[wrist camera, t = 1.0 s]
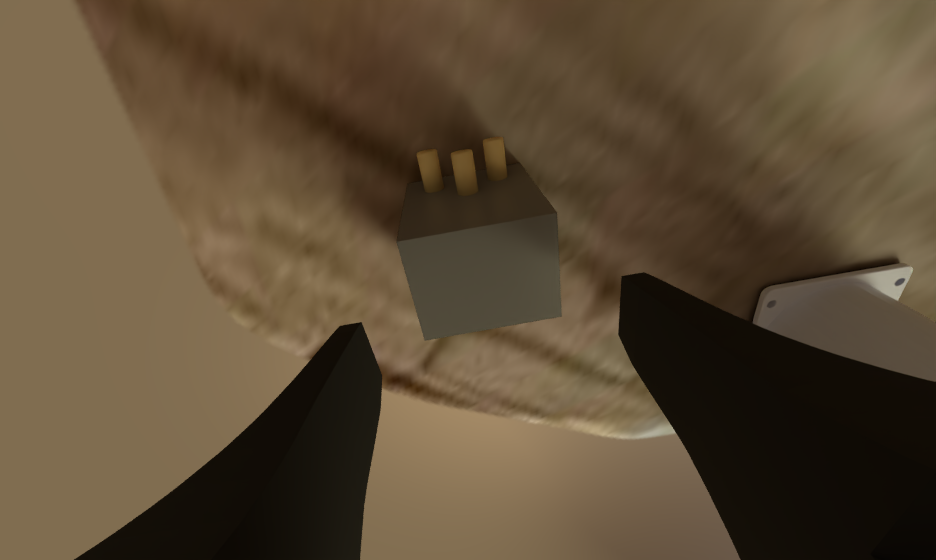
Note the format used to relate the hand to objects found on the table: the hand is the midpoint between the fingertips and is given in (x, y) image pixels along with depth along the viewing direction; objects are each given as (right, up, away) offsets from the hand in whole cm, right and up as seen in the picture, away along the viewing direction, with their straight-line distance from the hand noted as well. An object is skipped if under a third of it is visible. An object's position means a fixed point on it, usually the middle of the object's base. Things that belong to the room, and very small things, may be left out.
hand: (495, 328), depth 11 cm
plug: (-1, +4, +7) cm, 8 cm away
